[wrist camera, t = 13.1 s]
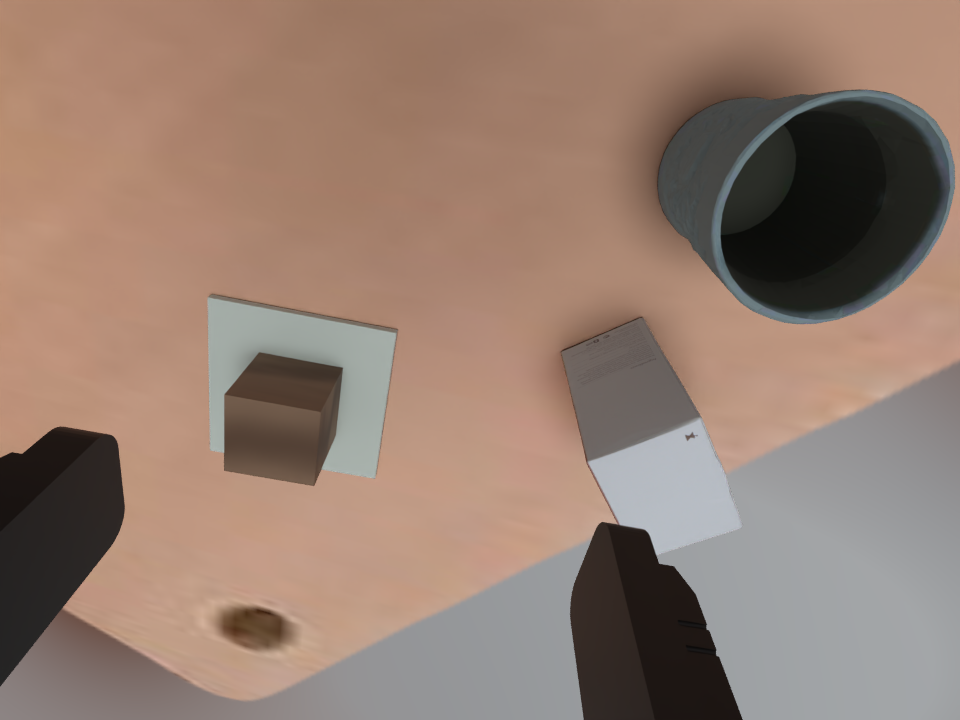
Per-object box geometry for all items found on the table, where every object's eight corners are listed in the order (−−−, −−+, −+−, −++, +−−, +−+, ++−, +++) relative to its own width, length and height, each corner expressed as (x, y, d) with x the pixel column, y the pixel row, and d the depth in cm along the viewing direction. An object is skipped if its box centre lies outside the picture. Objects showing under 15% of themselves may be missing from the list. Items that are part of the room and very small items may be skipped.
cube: (259, 352, 41) (224, 394, 36) (343, 367, 42) (320, 412, 36) (257, 421, 44) (224, 470, 38) (335, 435, 44) (314, 486, 39)
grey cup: (627, 126, 34) (687, 152, 24) (801, 50, 32) (952, 41, 22) (671, 276, 39) (740, 356, 28) (827, 216, 37) (966, 278, 26)
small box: (558, 350, 41) (583, 461, 30) (643, 314, 40) (704, 415, 28) (599, 435, 44) (637, 565, 33) (679, 404, 43) (748, 528, 31)
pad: (211, 294, 40) (207, 297, 39) (397, 329, 41) (396, 333, 40) (213, 445, 46) (210, 450, 45) (376, 473, 47) (374, 478, 46)
